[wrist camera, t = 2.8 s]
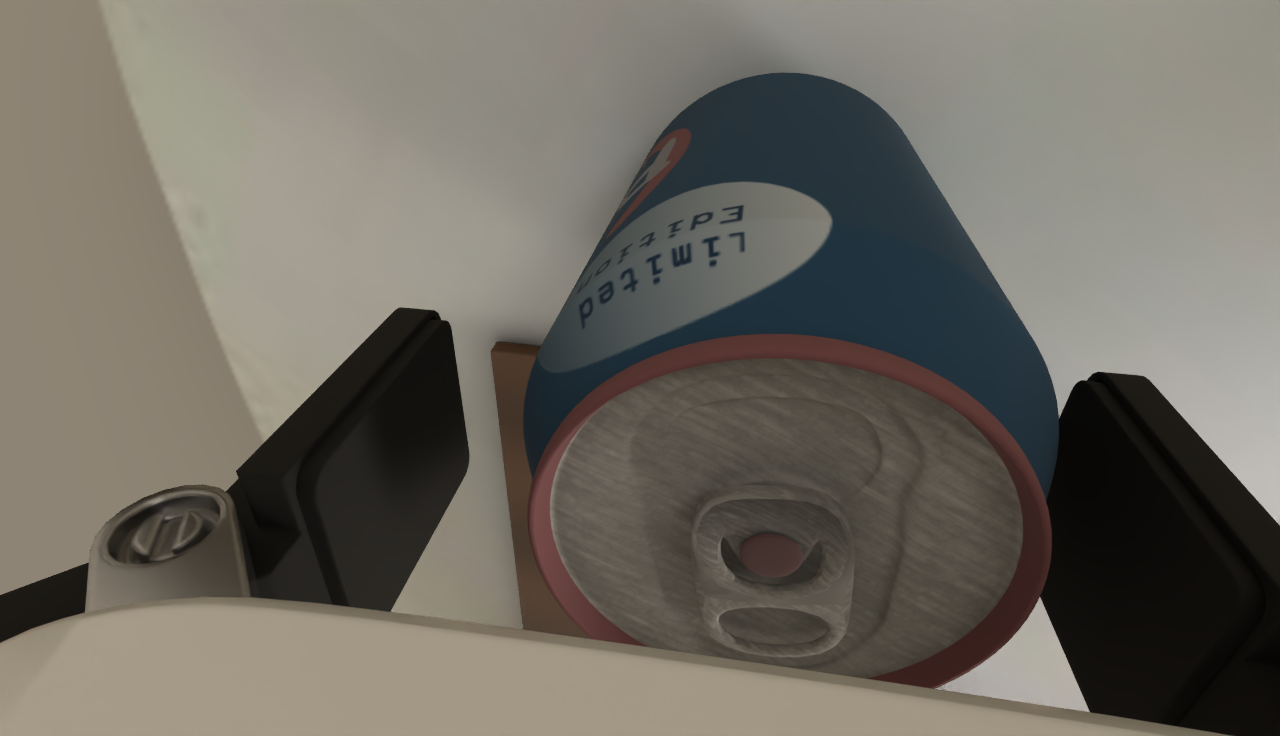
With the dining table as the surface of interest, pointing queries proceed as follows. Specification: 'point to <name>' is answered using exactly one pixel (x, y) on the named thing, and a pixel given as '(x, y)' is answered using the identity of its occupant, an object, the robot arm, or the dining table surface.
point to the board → (523, 489)
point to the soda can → (792, 406)
